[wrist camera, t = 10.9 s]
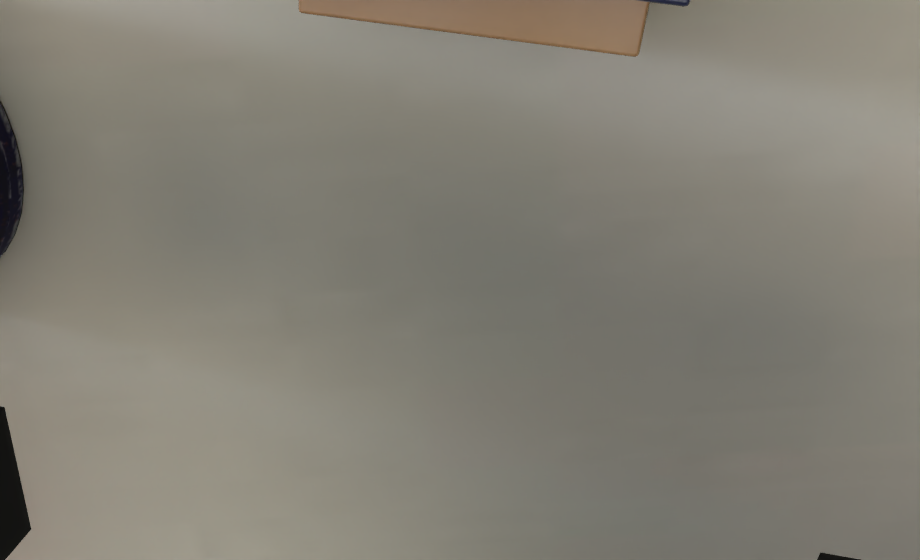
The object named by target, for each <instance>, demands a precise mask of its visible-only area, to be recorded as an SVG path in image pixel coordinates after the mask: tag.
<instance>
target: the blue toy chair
mask: <svg viewBox="0 0 920 560" xmlns="http://www.w3.org/2000/svg"><path fill="white" fill-rule="evenodd" d="M650 2H652V3H660V4H668V5H676V6H687V5H688V4H689V3H690V0H299V12H301V13H306V14H313V15H321V16H329V17H336V18H344V19H351V20H359V21H367V22H374V23H382V24H389V25H397V26H405V27H412V28H420V29H428V30H435V31H443V32H450V33H458V34H466V35H473V36H481V37H488V38H496V39H504V40H511V41H519V42H526V43H534V44H542V45H549V46H557V47H565V48H572V49H580V50H587V51H595V52H603V53H610V54H618V55H625V56H633V57H636V56H638V54H639V51H640V46H641V42H642V37H643V32H644V27H645V22H646V18H647V13H648V8H649V3H650Z"/></svg>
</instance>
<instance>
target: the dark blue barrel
mask: <svg viewBox="0 0 920 560" xmlns="http://www.w3.org/2000/svg"><path fill="white" fill-rule="evenodd" d="M22 199H23V181H22V168H21V162H20V158H19V153H18V149H17V145H16V141H15V137H14V134H13V132H12V129H11V127H10V124H9V121H8V119H7V116H6V114H5V111H4V109H3V107H2V105H1V103H0V257H1V256H2V255H3V253H4V252H5V251H6V249H7V248H8V246H9V244H10V242H11V240H12V238H13V237H14V235H15V232H16V229H17V226H18V222H19V219H20V215H21V209H22Z"/></svg>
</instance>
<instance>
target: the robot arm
mask: <svg viewBox="0 0 920 560" xmlns="http://www.w3.org/2000/svg"><path fill="white" fill-rule="evenodd" d="M30 530H31V526H30V522H29V517H28V513H27V508H26V504H25V499H24V494H23V490H22V485H21V481H20V476H19V472H18V467H17V462H16V458H15V453H14V449H13V444H12V440H11V435H10V431H9V426H8V421H7V417H6V412H5V408H4V407H0V560H5V559H6V558H7V557H8V556H9V555H10V553H11V552H12V551H13V550H14V549H15V548H16V546H17V545H18V544H19V543H20V542H21V541H22V539H23V538H24V537H25V536H26V535H27V533H28V532H29V531H30ZM817 560H859V559H854V558H848V557H842V556H837V555H831V554H826V553H820V555H819V557H818V559H817Z"/></svg>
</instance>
